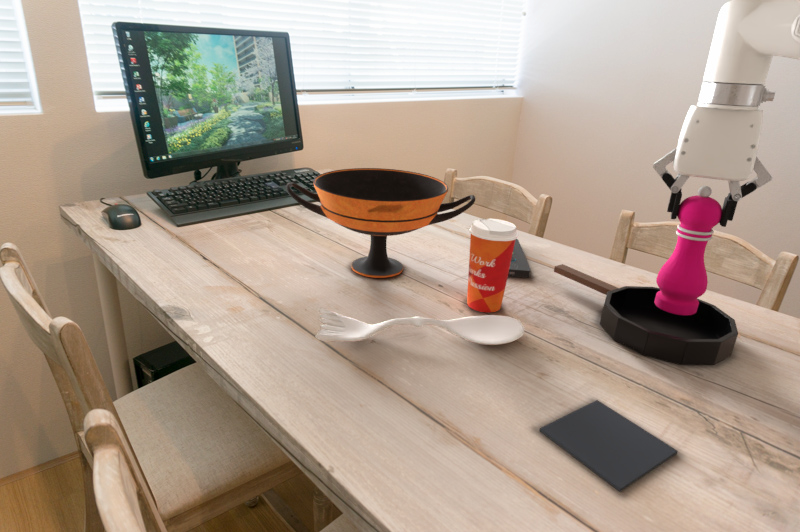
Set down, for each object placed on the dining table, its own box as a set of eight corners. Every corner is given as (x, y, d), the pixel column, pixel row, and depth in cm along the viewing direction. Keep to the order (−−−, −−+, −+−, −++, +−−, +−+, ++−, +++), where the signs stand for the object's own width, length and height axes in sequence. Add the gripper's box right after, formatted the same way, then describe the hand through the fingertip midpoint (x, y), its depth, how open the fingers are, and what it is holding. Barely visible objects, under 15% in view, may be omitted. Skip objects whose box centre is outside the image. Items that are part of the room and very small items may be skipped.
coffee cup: (452, 298, 96) (460, 219, 90) (489, 292, 99) (499, 215, 94) (478, 319, 89) (489, 235, 83) (517, 311, 92) (530, 230, 87)
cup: (271, 287, 96) (268, 192, 89) (303, 240, 119) (302, 162, 113) (470, 302, 95) (482, 207, 88) (462, 252, 118) (471, 174, 112)
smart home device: (490, 267, 106) (483, 235, 125) (489, 275, 107) (482, 242, 126) (532, 270, 106) (518, 238, 125) (531, 278, 107) (517, 244, 125)
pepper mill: (655, 313, 83) (686, 188, 76) (647, 295, 90) (674, 179, 83) (705, 320, 82) (741, 193, 75) (693, 301, 89) (725, 183, 81)
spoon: (317, 324, 84) (317, 304, 83) (512, 324, 88) (514, 305, 87) (315, 354, 76) (314, 333, 74) (530, 353, 80) (533, 332, 78)
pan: (751, 344, 86) (759, 322, 85) (688, 378, 76) (696, 354, 74) (586, 273, 111) (590, 256, 109) (520, 292, 100) (524, 272, 99)
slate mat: (677, 453, 61) (678, 450, 61) (619, 491, 55) (620, 488, 55) (596, 402, 69) (597, 399, 69) (539, 430, 63) (539, 428, 63)
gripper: (797, 100, 74) (759, 224, 80) (662, 92, 81) (637, 207, 87) (809, 103, 68) (767, 237, 74) (661, 94, 74) (635, 217, 81)
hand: (697, 219), depth 81 cm, fingers closed on pepper mill, 6 cm apart
